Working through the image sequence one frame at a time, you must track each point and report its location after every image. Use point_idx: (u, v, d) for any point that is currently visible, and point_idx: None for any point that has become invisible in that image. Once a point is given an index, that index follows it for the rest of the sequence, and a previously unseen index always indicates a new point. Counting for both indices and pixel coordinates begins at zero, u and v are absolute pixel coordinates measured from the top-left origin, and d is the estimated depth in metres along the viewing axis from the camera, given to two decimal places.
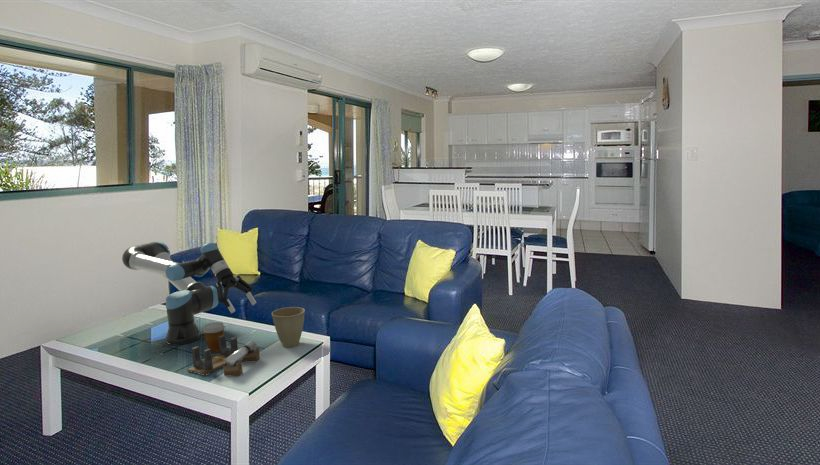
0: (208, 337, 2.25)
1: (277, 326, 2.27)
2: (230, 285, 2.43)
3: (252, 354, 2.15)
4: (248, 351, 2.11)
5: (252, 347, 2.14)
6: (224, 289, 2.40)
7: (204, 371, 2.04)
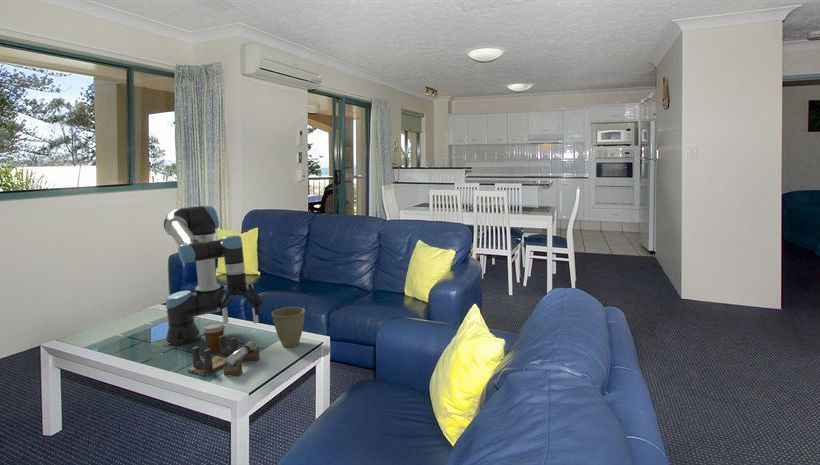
0: (208, 337, 2.25)
1: (277, 326, 2.27)
2: (234, 293, 2.07)
3: (252, 354, 2.15)
4: (248, 351, 2.11)
5: (252, 347, 2.14)
6: None
7: (204, 371, 2.04)
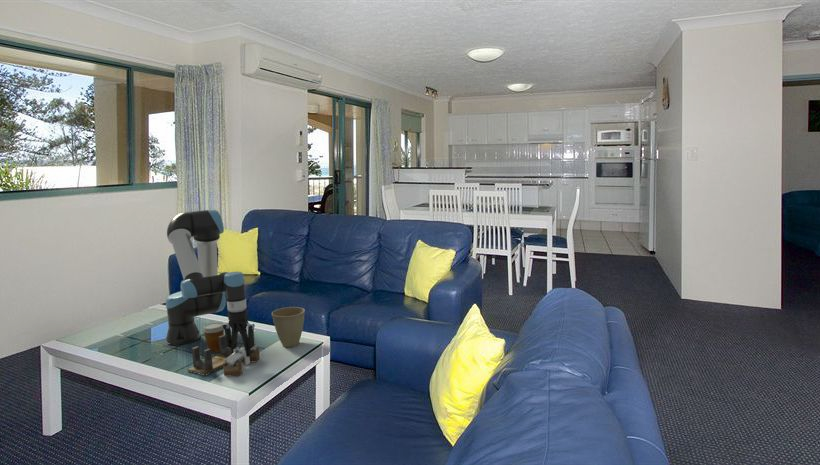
0: (208, 337, 2.25)
1: (277, 326, 2.27)
2: (235, 330, 2.07)
3: (252, 354, 2.15)
4: None
5: (252, 347, 2.14)
6: None
7: (204, 371, 2.04)
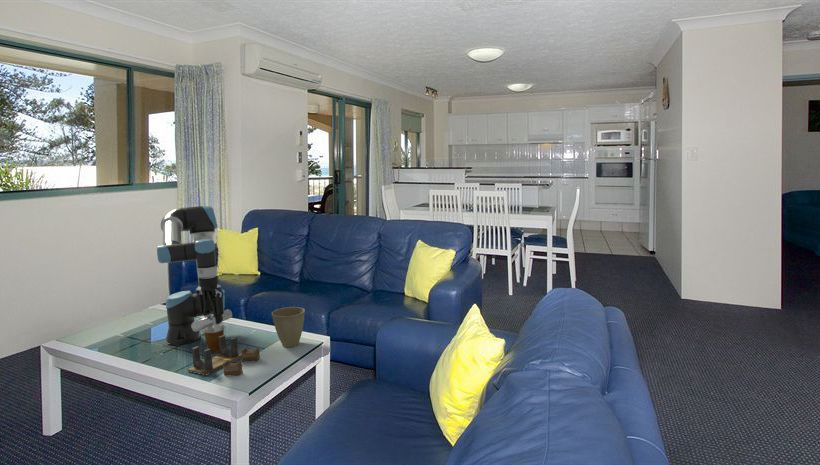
0: (208, 337, 2.25)
1: (277, 326, 2.27)
2: (206, 296, 2.10)
3: (252, 354, 2.15)
4: (220, 319, 2.13)
5: (226, 315, 2.16)
6: None
7: (204, 371, 2.04)
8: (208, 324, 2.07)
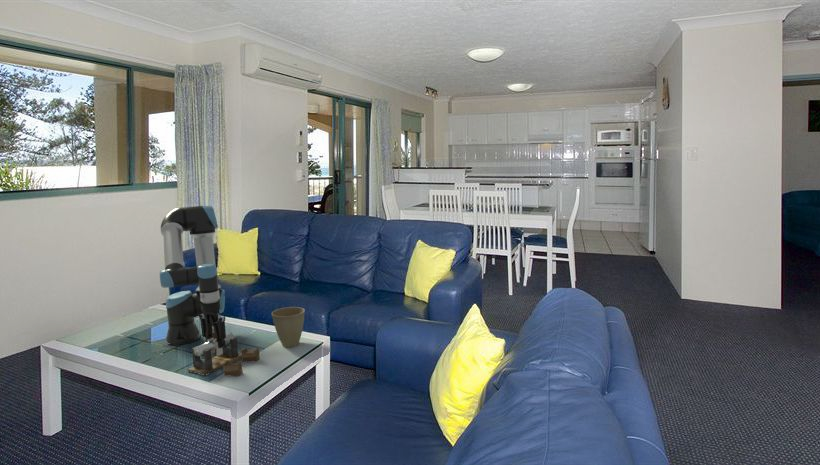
0: None
1: (277, 326, 2.27)
2: (208, 321, 2.11)
3: (252, 354, 2.15)
4: (222, 342, 2.14)
5: (228, 339, 2.17)
6: None
7: (204, 371, 2.04)
8: (210, 348, 2.09)
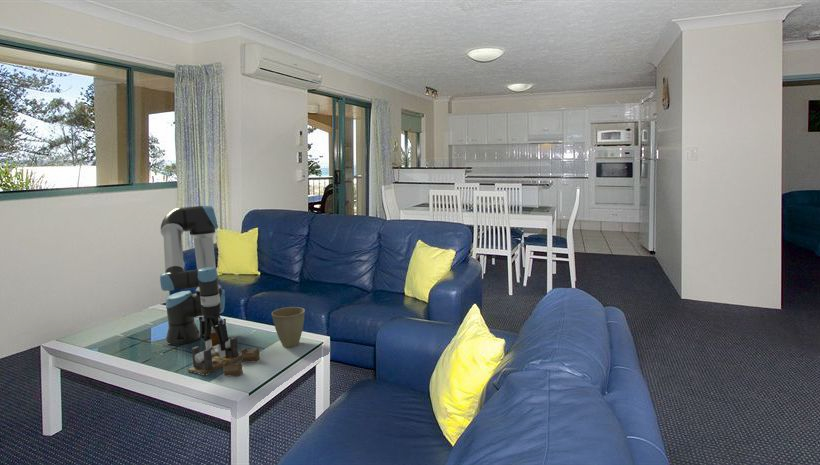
0: None
1: (277, 326, 2.27)
2: (208, 324, 2.11)
3: (252, 354, 2.15)
4: None
5: (228, 345, 2.18)
6: None
7: (204, 371, 2.04)
8: None
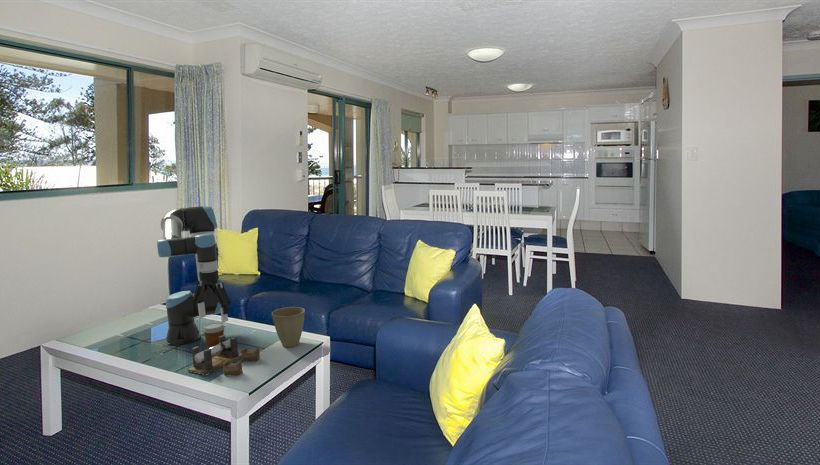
0: (208, 337, 2.25)
1: (277, 326, 2.27)
2: (206, 291, 2.10)
3: (252, 354, 2.15)
4: (222, 349, 2.15)
5: (228, 345, 2.18)
6: None
7: (204, 371, 2.04)
8: None
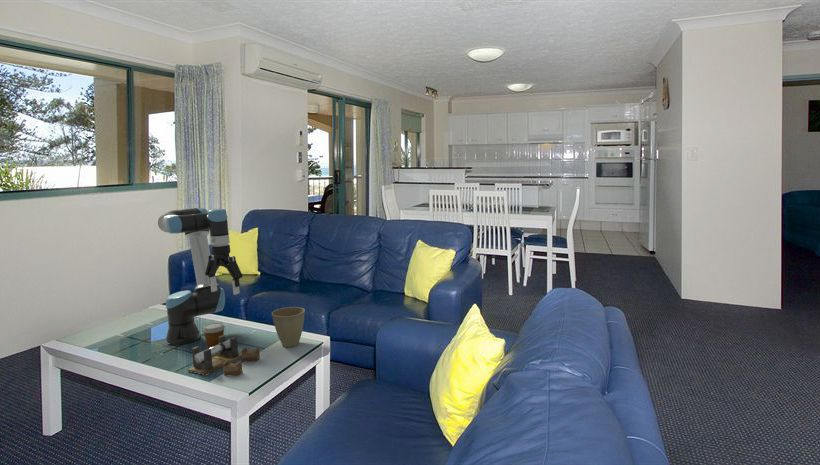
0: (208, 337, 2.25)
1: (277, 326, 2.27)
2: (218, 264, 2.18)
3: (252, 354, 2.15)
4: (222, 349, 2.15)
5: (228, 345, 2.18)
6: None
7: (204, 371, 2.04)
8: None
